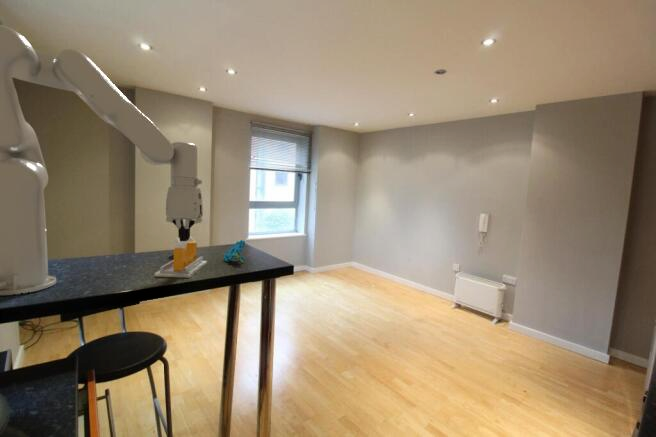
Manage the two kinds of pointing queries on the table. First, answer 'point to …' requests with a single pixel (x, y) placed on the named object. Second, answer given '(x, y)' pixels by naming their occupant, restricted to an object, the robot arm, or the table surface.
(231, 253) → the blue lumpy piece
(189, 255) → the pipe clamp
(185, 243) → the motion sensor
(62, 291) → the table surface
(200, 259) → the rail plate
